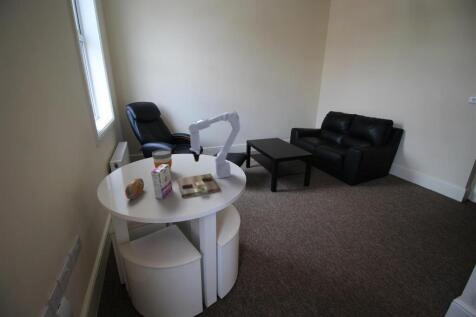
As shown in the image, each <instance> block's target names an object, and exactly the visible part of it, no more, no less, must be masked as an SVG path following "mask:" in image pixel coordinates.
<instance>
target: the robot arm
mask: <svg viewBox="0 0 476 317" xmlns="http://www.w3.org/2000/svg"><path fill="white" fill-rule="evenodd" d="M221 121H223V122H228V123H229V124H230V126H231V129H230V132H229V134H228V136H227V138H226V140H225V142H224V144H223V146H222V148H221V149H220V151H219V152H218V153H217V155H216V158H215V173H214V176H215V177H216V179H223V178H231V177H232V175H231V164H230V162H227V161H226V159H227V155H228V154H229V151H230V149H231V147H232V146H233V144H234V141H235V140H236V138H237V137H238V134H239V133H240V130H241V123H240V122H241V121H240V117H239V114H238V112H237V111H235V110H231V111H226V112H223V113H220V114H218V115H216V116H213V117H212V118H207V117H203V118H202V119H201V120H198V121H197V120H195V121H194V122H192V123H191V124H189V126H188V131H189V135H190V146H191V147H190V148H189V150H190V151H191V152H190V153H191V154H192V156H193V159H194V162H195V163H196V162H199V160H200V155H201V153H202V152H201V140H200V138H201V137H200V131H202V130H203V131H204V130H205V129H208V128H210V127H211V125H212V124H216V123H218V122H221Z"/></svg>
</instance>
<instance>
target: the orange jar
mask: <svg viewBox="0 0 476 317" xmlns="http://www.w3.org/2000/svg"><path fill="white" fill-rule="evenodd" d="M152 159H153V164H154V167H155V169H156V168H157V167H159V166H160V165H161V164H167V165H169V168H170V174H171V172H172V166H173V162H172V161H173V159H172V151H171V150H170V149H158V150H155V151H152Z"/></svg>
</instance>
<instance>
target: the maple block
mask: <svg viewBox="0 0 476 317" xmlns="http://www.w3.org/2000/svg"><path fill="white" fill-rule="evenodd" d="M196 189H197V191H204V190H205V189H204V183H203V181H201V182H196Z"/></svg>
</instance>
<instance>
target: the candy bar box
mask: <svg viewBox="0 0 476 317" xmlns="http://www.w3.org/2000/svg"><path fill="white" fill-rule="evenodd" d="M150 173H151V179H152V185H153V190H154V197H155V199H158V200H159V199H160V200H164V199H165V198H166V197H167V196H168V195H169V194H170V193H171V192H172V191H173V185H172V177H171V173H170V168H169V165H167V164H161V165H160V166H159V167H157V168H155V169H153V170H151V171H150Z"/></svg>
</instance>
